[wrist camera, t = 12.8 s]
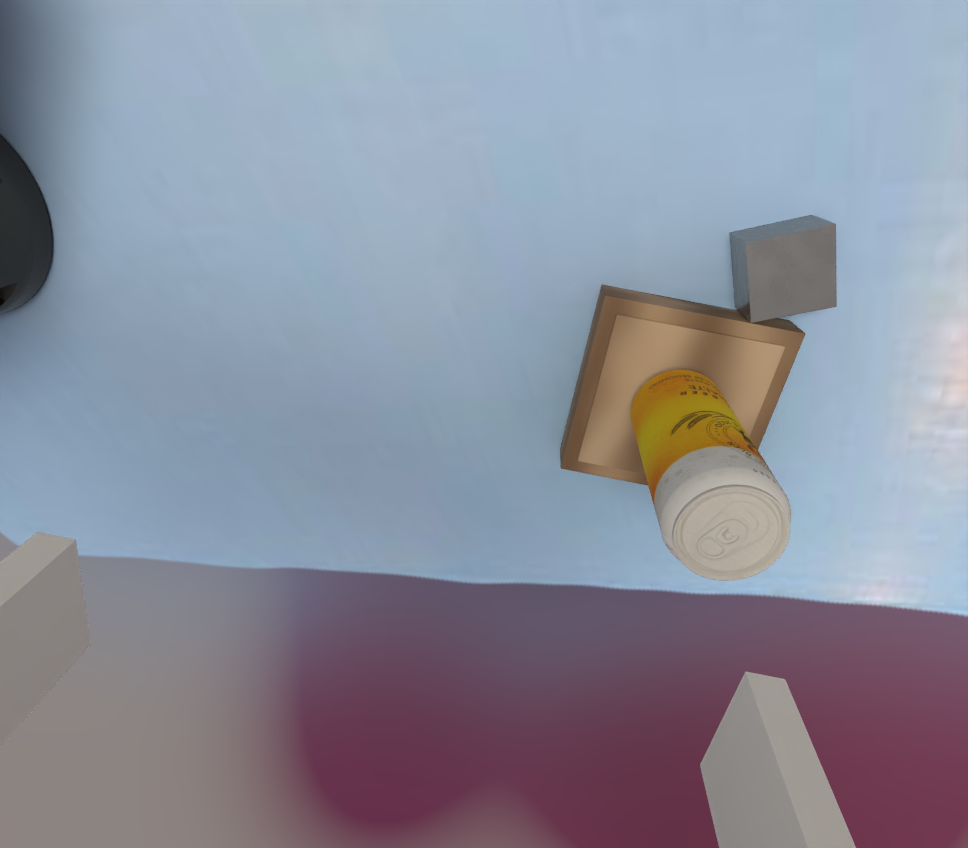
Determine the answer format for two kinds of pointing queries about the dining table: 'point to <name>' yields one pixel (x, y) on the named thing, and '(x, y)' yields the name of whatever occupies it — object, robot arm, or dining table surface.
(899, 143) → the dining table surface
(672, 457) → the beer can
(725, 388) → the plinth
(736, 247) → the steel block
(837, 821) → the robot arm
